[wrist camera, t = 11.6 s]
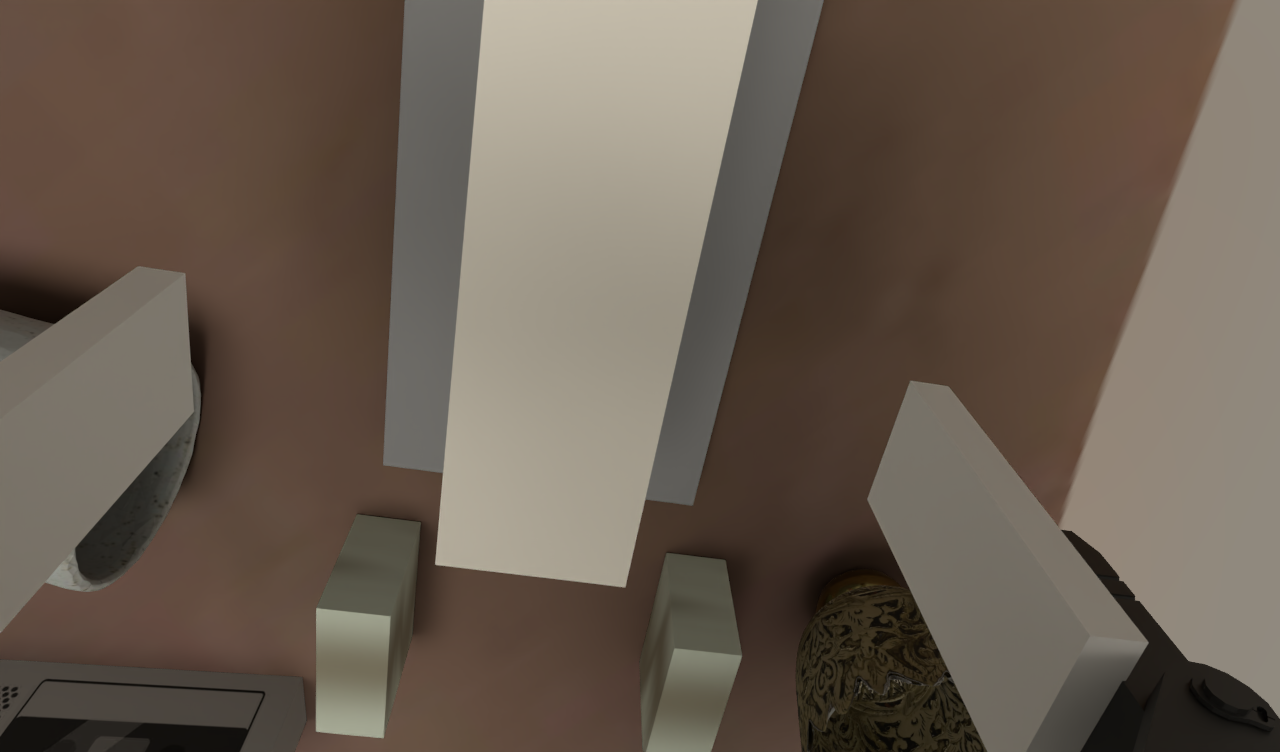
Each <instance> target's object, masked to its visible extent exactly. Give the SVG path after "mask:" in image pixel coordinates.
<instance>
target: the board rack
mask: <svg viewBox="0 0 1280 752" xmlns="http://www.w3.org/2000/svg"><path fill="white" fill-rule="evenodd" d="M420 527H421V522H416V521H408V520H400V519H392V518H383V517H375V516H367V515H359V514H357V515H356V518H355V520H354V522H353V525H352V527H351V529H350V532H349V534H348V536H347V538H346V541H345V543H344V545H343V548H342V550H341V552H340V555H339V557H338V559H337V562H336V564H335V566H334V568H333V571H332V573H331V575H330V578H329V580H328V582H327V585H326V587H325V589H324V592H323V594H322V596H321V598H320V601H319V603H318V605H317V608H316V732H324V733H335V734H345V735H355V736H366V737H376V738H384V735H385V731H386V728H387V724H388V721H389V717H390V714H391V710H392V707H393V703H394V699H395V696H396V692H397V689H398V685H399V682H400V678H401V675H402V671H403V668H404V664H405V660H406V657H407V653H408V650H409V646H410V643H411V639H412V634H413V621H414V608H415V594H416V581H417V567H418V554H419V540H420ZM741 658H742V652H741V646H740V640H739V634H738V629H737V623H736V617H735V612H734V606H733V600H732V595H731V589H730V583H729V577H728V572H727V566H726V560H722V559H714V558H706V557H697V556H689V555H681V554H673V553H666V556H665V560H664V564H663V568H662V572H661V576H660V580H659V584H658V588H657V592H656V596H655V600H654V604H653V608H652V613H651V617H650V621H649V625H648V629H647V633H646V637H645V641H644V645H643V649H642V653H641V657H640V661H639V663H640V692H641V720H642V749H643V752H711V750H712V747H713V744H714V741H715V738H716V735H717V732H718V729H719V726H720V722H721V719H722V716H723V713H724V710H725V707H726V704H727V701H728V698H729V695H730V692H731V689H732V686H733V683H734V680H735V676H736V673H737V670H738V667H739V664H740V661H741Z"/></svg>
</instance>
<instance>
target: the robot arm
mask: <svg viewBox="0 0 1280 752" xmlns="http://www.w3.org/2000/svg"><path fill="white" fill-rule="evenodd" d="M193 412H194V403H193V388H192V372H191V356H190V341H189V325H188V309H187V294H186V278H185V273H181V272H174V271H167V270H160V269H154V268H147V267H140V266H138V267H136V268H135V269H133V270H132V271H131V272H129V273H128V274H126V275H125V276H123V277H122V278H120V279H119V280H118V281H116V282H115V283H113V284H112V285H110V286H109V287H107V288H106V289H105V290H103V291H102V292H100V293H99V294H97V295H96V296H94V297H93V298H92V299H90V300H89V301H87V302H86V303H84V304H83V305H81V306H80V307H79V308H77V309H76V310H74V311H73V312H71V313H70V314H68V315H67V316H66V317H64V318H63V319H61V320H60V321H58V322H57V323H55V324H54V325H53V326H51V327H50V328H48V329H47V330H45V331H44V332H42V333H41V334H40V335H38V336H37V337H35V338H34V339H32V340H31V341H29V342H28V343H27V344H25V345H24V346H22V347H21V348H19V349H18V350H16V351H15V352H14V353H12V354H11V355H9V356H8V357H6V358H5V359H3V360H2V361H1V362H0V633H1V632H2V631H3V630H4V628H5V627H6V626H7V625H8V624H9V623H10V622H11V620H12V619H13V618H14V617H15V616H16V615H17V614H18V612H19V611H20V610H21V609H22V608H23V607H24V606H25V604H26V603H27V602H28V601H29V600H30V599H31V598H32V596H33V595H34V594H35V593H36V592H37V591H38V590H39V588H40V587H41V586H42V585H43V584H44V583H45V582H46V580H47V579H48V578H49V577H50V576H51V575H52V574H53V572H54V571H55V570H56V569H57V568H58V567H59V566H60V564H61V563H62V562H63V561H64V560H65V559H66V558H67V556H68V555H69V554H70V553H71V552H72V551H73V550H74V548H75V547H76V546H77V545H78V544H79V543H80V542H81V540H82V539H83V538H84V537H85V536H86V535H87V533H88V532H89V531H90V530H91V529H92V528H93V527H94V525H95V524H96V523H97V522H98V521H99V520H100V519H101V517H102V516H103V515H104V514H105V513H106V512H107V511H108V509H109V508H110V507H111V506H112V505H113V504H114V503H115V501H116V500H117V499H118V498H119V497H120V496H121V495H122V493H123V492H124V491H125V490H126V489H127V488H128V487H129V485H130V484H131V483H132V482H133V481H134V480H135V479H136V477H137V476H138V475H139V474H140V473H141V472H142V471H143V469H144V468H145V467H146V466H147V465H148V464H149V463H150V461H151V460H152V459H153V458H154V457H155V456H156V455H157V453H158V452H159V451H160V450H161V449H162V448H163V447H164V445H165V444H166V443H167V442H168V441H169V440H170V439H171V437H172V436H173V435H174V434H175V433H176V432H177V431H178V429H179V428H180V427H181V426H182V425H183V424H184V423H185V421H186V420H187V419H188V418H189V417H190V416H191V415H192V413H193ZM867 500H868V502H869V504H870V506H871V509H872V511H873V513H874V515H875V517H876V519H877V521H878V523H879V525H880V527H881V530H882V532H883V534H884V536H885V538H886V540H887V542H888V544H889V546H890V548H891V551H892V553H893V555H894V557H895V559H896V561H897V563H898V565H899V567H900V569H901V572H902V574H903V576H904V578H905V580H906V582H907V584H908V586H909V588H910V590H911V593H912V595H913V597H914V599H915V601H916V603H917V605H918V607H919V609H920V611H921V614H922V616H923V618H924V620H925V622H926V624H927V626H928V628H929V630H930V633H931V635H932V637H933V639H934V641H935V643H936V645H937V647H938V649H939V651H940V654H941V656H942V658H943V660H944V662H945V664H946V666H947V668H948V670H949V672H950V675H951V677H952V679H953V681H954V683H955V685H956V687H957V689H958V691H959V693H960V696H961V698H962V700H963V702H964V704H965V706H966V708H967V710H968V712H969V714H970V717H971V719H972V721H973V723H974V725H975V727H976V729H977V731H978V733H979V735H980V738H981V740H982V742H983V744H984V746H985V748H986V750H987V752H1280V719H1279V718H1278V716H1277V715H1276V713H1275V712H1274V711H1273V710H1272V708H1271V707H1270V706H1269V704H1268V703H1267V702H1266V701H1265V700H1263V699H1262V698H1261V697H1260V696H1259V695H1258V694H1257V693H1255V692H1254V691H1253V690H1252V689H1251V688H1250V687H1248V686H1246V685H1245V684H1243V683H1242V682H1240V681H1238V680H1237V679H1235V678H1234V677H1232V676H1230V675H1229V674H1227V673H1225V672H1222V671H1220V670H1217V669H1215V668H1212V667H1210V666H1208V665H1205V664H1199V663H1195V662H1190V661H1188V660H1187V659H1186V658H1185V657H1184V655H1183V654H1182V653H1181V652H1180V650H1179V649H1178V648H1177V647H1176V645H1175V644H1174V643H1173V642H1172V641H1171V640H1170V638H1169V637H1168V636H1167V634H1166V633H1165V632H1164V631H1163V630H1162V628H1161V627H1160V626H1159V625H1158V623H1157V622H1156V621H1155V620H1154V619H1153V617H1152V616H1151V615H1150V614H1149V612H1148V611H1147V610H1146V609H1145V607H1144V606H1143V605H1142V604H1141V603H1140V601H1135V595H1134V594H1133V593H1132V592H1131V590H1130V589H1129V588H1128V587H1127V585H1126V584H1125V583H1124V582H1123V581H1119V576H1118V575H1117V573H1116V572H1115V571H1114V570H1113V568H1112V567H1111V566H1110V565H1109V564H1108V562H1107V561H1106V560H1105V559H1104V557H1103V556H1102V555H1101V554H1100V553H1099V552H1098V551H1097V550H1095V549H1094V548H1092V547H1091V546H1090V545H1089V544H1087V543H1086V542H1085V541H1084V540H1082V539H1081V538H1080V537H1078V536H1077V535H1076V534H1075V533H1073V532H1072V531H1066V530H1060V528H1059V527H1058V526H1057V524H1056V523H1055V522H1054V521H1053V519H1052V518H1051V517H1050V516H1049V514H1048V513H1047V512H1046V510H1045V509H1044V508H1043V507H1042V505H1041V504H1040V503H1039V501H1038V500H1037V499H1036V498H1035V496H1034V495H1033V494H1032V493H1031V491H1030V490H1029V489H1028V487H1027V486H1026V485H1025V484H1024V482H1023V481H1022V480H1021V478H1020V477H1019V476H1018V475H1017V473H1016V472H1015V471H1014V469H1013V468H1012V467H1011V466H1010V464H1009V463H1008V462H1007V461H1006V459H1005V458H1004V457H1003V455H1002V454H1001V453H1000V452H999V450H998V449H997V448H996V446H995V445H994V444H993V443H992V441H991V440H990V439H989V437H988V436H987V435H986V434H985V432H984V431H983V430H982V429H981V427H980V426H979V425H978V423H977V422H976V421H975V420H974V418H973V417H972V416H971V414H970V413H969V412H968V411H967V409H966V408H965V407H964V405H963V404H962V403H961V402H960V400H959V399H958V398H957V397H956V395H955V394H954V393H953V391H952V390H951V389H950V388H949V386H944V385H937V384H930V383H923V382H917V381H910V383H909V386H908V388H907V391H906V394H905V397H904V399H903V402H902V405H901V408H900V410H899V413H898V416H897V419H896V421H895V424H894V427H893V430H892V432H891V435H890V438H889V441H888V443H887V446H886V449H885V452H884V454H883V457H882V460H881V463H880V465H879V468H878V471H877V474H876V476H875V479H874V482H873V485H872V487H871V490H870V493H869V496H868V498H867Z"/></svg>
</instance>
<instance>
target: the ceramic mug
mask: <svg viewBox="0 0 1280 752" xmlns="http://www.w3.org/2000/svg"><path fill="white" fill-rule="evenodd" d="M53 325H54V324H52V323H48V322H44V321H40V320H35V319H32V318H28V317H25V316H22V315H18V314H15V313H11V312H8V311H4V310H0V362H1V361H2V360H3V359H5V358H6V357H8V356H9V355H11V354H12V353H14V352H15V351H16V350H18V349H19V348H21V347H22V346H24V345H25V344H27V343H28V342H29V341H31V340H32V339H34V338H35V337H37V336H38V335H40V334H41V333H42V332H44V331H45V330H47V329H48V328H50V327H51V326H53ZM191 372H192V388H193V403H194V412H193V413H192V415H191V416H190V417H189V418H188V419H187V420H186V421H185V423H184V424H183V425H182V426H181V427H180V428H179V429H178V431H177V432H176V433H175V434H174V435H173V436H172V437H171V439H170V440H169V441H168V442H167V443H166V444H165V445H164V447H163V448H162V449H161V450H160V451H159V452H158V453H157V455H156V456H155V457H154V458H153V459H152V460H151V461H150V463H149V464H148V465H147V466H146V467H145V468H144V469H143V471H142V472H141V473H140V474H139V475H138V476H137V477H136V479H135V480H134V481H133V482H132V483H131V484H130V485H129V487H128V488H127V489H126V490H125V491H124V492H123V493H122V495H121V496H120V497H119V498H118V499H117V500H116V501H115V503H114V504H113V505H112V506H111V507H110V508H109V509H108V511H107V512H106V513H105V514H104V515H103V516H102V517H101V519H100V520H99V521H98V522H97V523H96V524H95V525H94V527H93V528H92V529H91V530H90V531H89V532H88V533H87V535H86V536H85V537H84V538H83V539H82V540H81V542H80V543H79V544H78V545H77V546H76V547H75V548H74V550H73V551H72V552H71V553H70V554H69V555H68V556H67V558H66V559H65V560H64V561H63V562H62V563H61V564H60V566H59V567H58V568H57V569H56V570H55V571H54V572H53V574H52V575H51V576H50V577H49V578H48V579H47V580H46V582H45V583H49V584H52V585H56V586H59V587H62V588H66V589H70V590H76V591H85V592H91V591H97V590H101V589H103V588H105V587H107V586H108V585H110V584H112V583H114V582H115V581H116V580H117V579H119V578H120V577H121V576H123V575H124V574H125V573H126V571H127V570H128V569H129V568H130V567H131V566H132V565H134V564H135V563H136V562H137V561H138V560H139V558H140V557H141V555H142V554H143V552H144V551H145V549H146V548H147V547H148V545H149V544H150V542H151V541H152V539H153V538H154V536H155V534H156V533H157V531H158V529H159V528H160V526H161V524H162V523H163V521H164V519H165V518H166V516H167V514H168V512H169V510H170V508H171V505H172V503H173V501H174V499H175V497H176V495H177V493H178V491H179V489H180V486H181V483H182V480H183V478H184V475H185V473H186V470H187V468H188V465H189V462H190V459H191V456H192V453H193V447H194V442H195V437H196V432H197V429H198V425H199V420H200V406H201V391H200V382H199V377H198V375H197V373H196V371H195V369H194V367H193V365H192V364H191Z"/></svg>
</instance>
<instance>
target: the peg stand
mask: <svg viewBox="0 0 1280 752" xmlns="http://www.w3.org/2000/svg"><path fill="white" fill-rule="evenodd" d="M823 1H824V0H758V2H757V6H756V11H755V15H754V20H753V24H752V28H751V33H750V37H749V42H748V46H747V51H746V55H745V59H744V64H743V68H742V73H741V77H740V82H739V86H738V90H737V95H736V99H735V104H734V108H733V113H732V117H731V121H730V126H729V130H728V135H727V139H726V144H725V148H724V152H723V157H722V161H721V166H720V170H719V175H718V179H717V183H716V188H715V192H714V197H713V201H712V206H711V210H710V214H709V219H708V223H707V228H706V232H705V237H704V241H703V245H702V250H701V254H700V259H699V263H698V268H697V272H696V276H695V281H694V285H693V290H692V294H691V299H690V303H689V308H688V312H687V316H686V321H685V325H684V330H683V334H682V339H681V343H680V347H679V352H678V356H677V361H676V365H675V370H674V374H673V378H672V383H671V387H670V392H669V396H668V401H667V405H666V409H665V414H664V418H663V423H662V427H661V432H660V436H659V440H658V445H657V449H656V454H655V458H654V463H653V467H652V471H651V476H650V480H649V485H648V489H647V494H646V498H645V499H646V500H653V501H661V502H669V503H676V504H684V505H692V506H693V503H694V499H695V495H696V491H697V488H698V484H699V480H700V476H701V472H702V468H703V464H704V461H705V457H706V453H707V449H708V445H709V441H710V437H711V434H712V430H713V426H714V422H715V418H716V414H717V410H718V407H719V403H720V399H721V395H722V391H723V387H724V383H725V380H726V376H727V372H728V368H729V364H730V360H731V356H732V353H733V349H734V345H735V341H736V337H737V333H738V329H739V326H740V322H741V318H742V314H743V310H744V306H745V302H746V299H747V295H748V291H749V287H750V283H751V279H752V275H753V272H754V268H755V264H756V260H757V256H758V252H759V248H760V245H761V241H762V237H763V233H764V229H765V225H766V221H767V218H768V214H769V210H770V206H771V202H772V198H773V194H774V191H775V187H776V183H777V179H778V175H779V171H780V167H781V164H782V160H783V156H784V152H785V148H786V144H787V140H788V136H789V133H790V129H791V125H792V121H793V117H794V113H795V109H796V106H797V102H798V98H799V94H800V90H801V86H802V82H803V79H804V75H805V71H806V67H807V63H808V59H809V55H810V52H811V48H812V44H813V40H814V36H815V32H816V28H817V25H818V21H819V17H820V13H821V9H822V5H823ZM483 8H484V0H405V8H404V29H403V51H402V72H401V94H400V115H399V137H398V158H397V179H396V201H395V222H394V244H393V265H392V286H391V308H390V329H389V351H388V372H387V393H386V415H385V436H384V458H383V465H386V466H393V467H401V468H409V469H416V470H424V471H432V472H439V473H443V469H444V457H445V446H446V434H447V423H448V411H449V400H450V388H451V377H452V365H453V354H454V342H455V331H456V319H457V308H458V296H459V285H460V273H461V262H462V250H463V239H464V227H465V216H466V204H467V193H468V181H469V170H470V158H471V147H472V135H473V124H474V112H475V101H476V89H477V78H478V66H479V55H480V43H481V31H482V20H483Z"/></svg>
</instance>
